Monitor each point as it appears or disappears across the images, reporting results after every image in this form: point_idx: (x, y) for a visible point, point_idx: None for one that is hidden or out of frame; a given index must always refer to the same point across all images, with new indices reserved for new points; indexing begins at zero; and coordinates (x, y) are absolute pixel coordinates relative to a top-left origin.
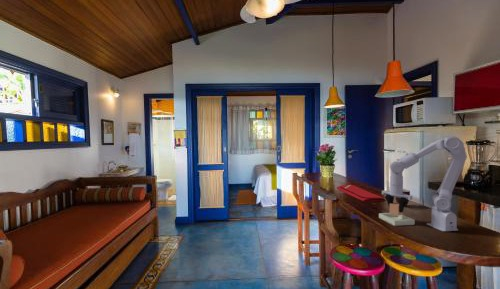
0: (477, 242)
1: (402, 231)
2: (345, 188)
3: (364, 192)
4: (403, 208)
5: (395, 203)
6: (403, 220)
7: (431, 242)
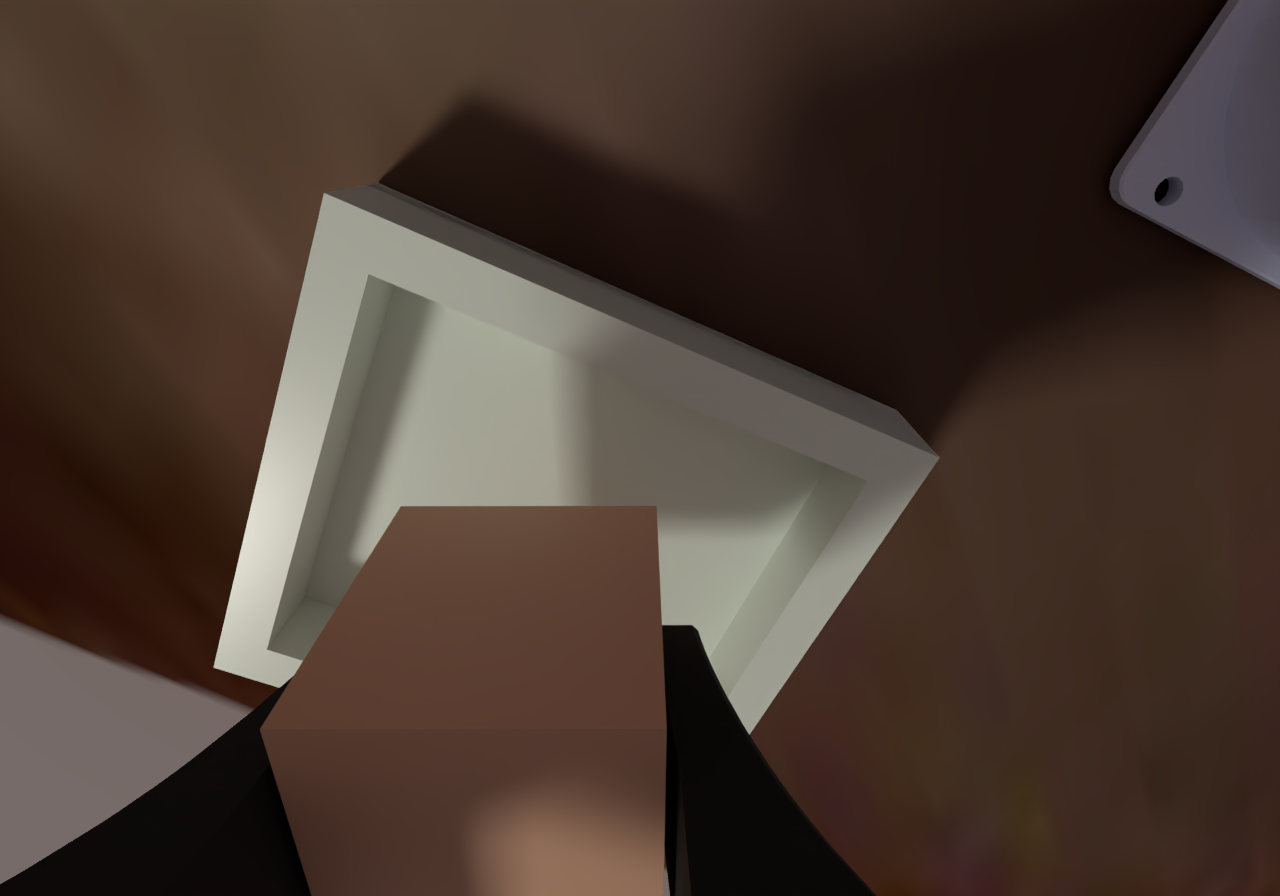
0: None
1: (869, 827)
2: None
3: None
4: (721, 702)
5: (406, 819)
6: (784, 680)
7: (1253, 875)
